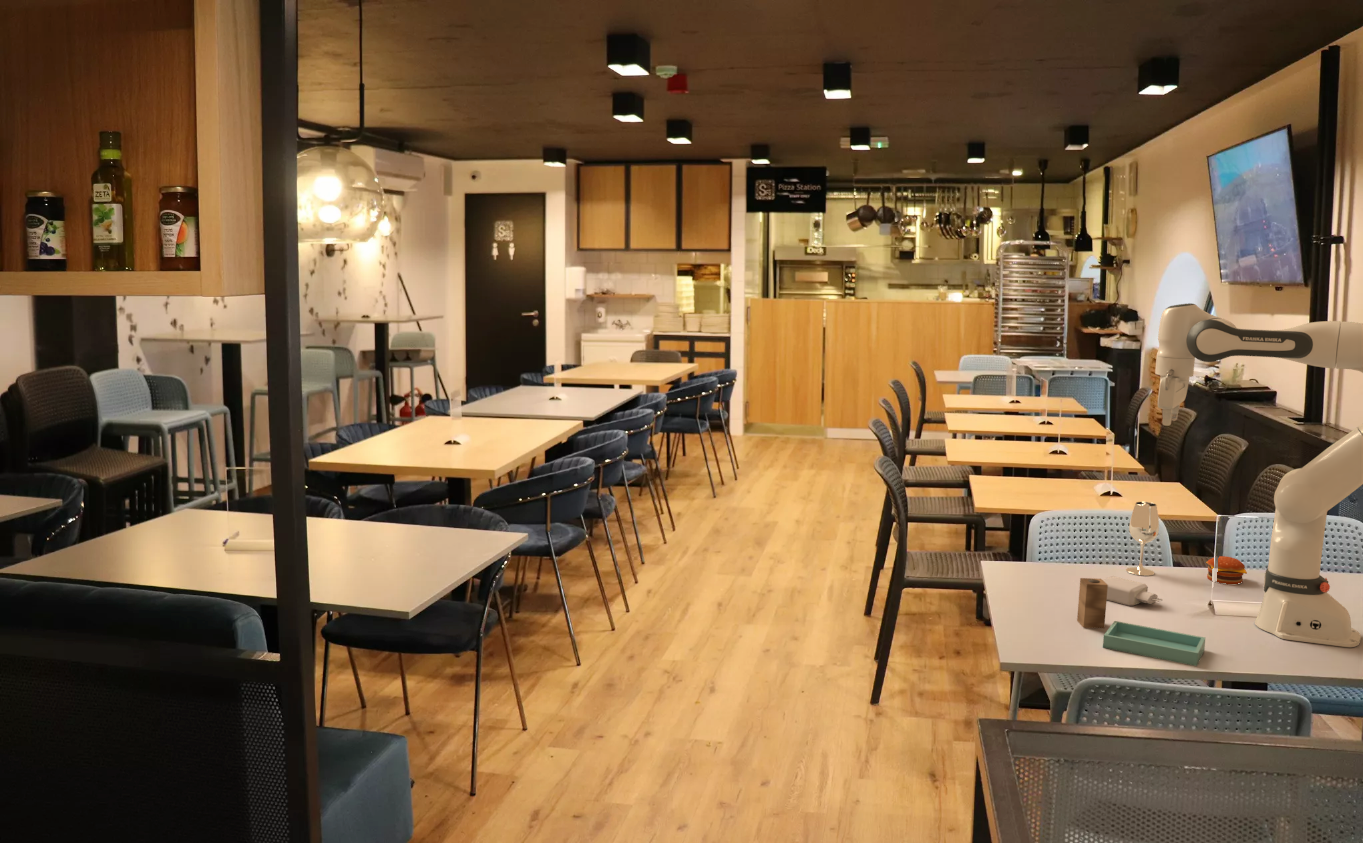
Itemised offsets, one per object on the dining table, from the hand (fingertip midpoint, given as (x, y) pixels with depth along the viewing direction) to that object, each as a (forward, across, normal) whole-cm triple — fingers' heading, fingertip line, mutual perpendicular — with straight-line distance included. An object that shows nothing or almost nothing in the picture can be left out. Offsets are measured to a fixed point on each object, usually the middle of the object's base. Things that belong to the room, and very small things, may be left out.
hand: (1169, 422), depth 283 cm
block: (+48, -25, +10) cm, 55 cm away
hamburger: (+48, +36, -13) cm, 62 cm away
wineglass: (+48, +30, +9) cm, 57 cm away
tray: (+48, -34, -6) cm, 59 cm away
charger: (+48, 0, +5) cm, 49 cm away
